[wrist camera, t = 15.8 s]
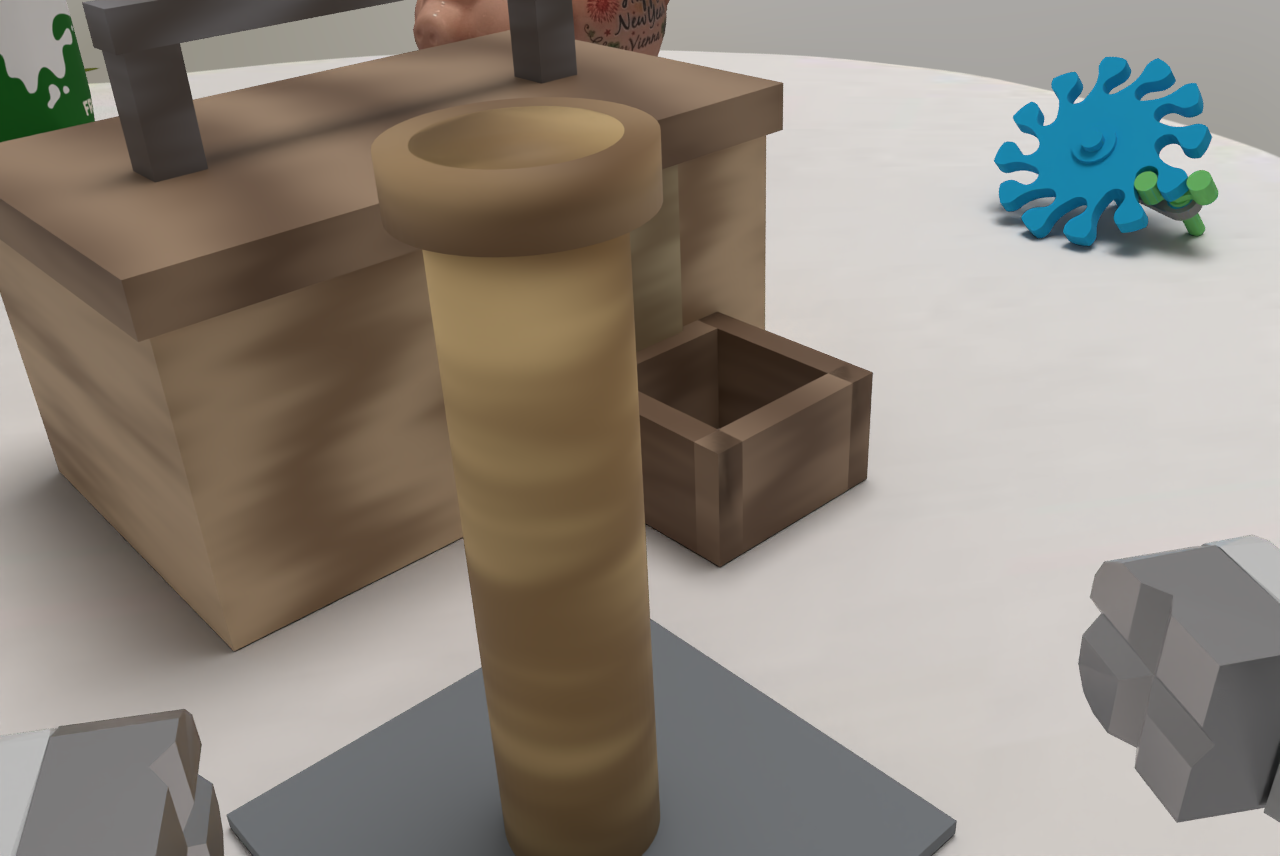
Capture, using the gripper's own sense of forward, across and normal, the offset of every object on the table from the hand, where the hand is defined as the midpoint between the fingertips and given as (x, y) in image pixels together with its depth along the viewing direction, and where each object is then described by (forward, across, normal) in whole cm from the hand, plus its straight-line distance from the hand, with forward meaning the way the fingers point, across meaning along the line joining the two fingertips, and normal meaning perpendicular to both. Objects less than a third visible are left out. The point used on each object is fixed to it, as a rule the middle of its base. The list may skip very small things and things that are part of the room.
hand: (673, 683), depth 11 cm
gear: (+43, -32, +15) cm, 56 cm away
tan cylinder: (+12, 0, +14) cm, 19 cm away
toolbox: (+29, 0, +15) cm, 33 cm away
